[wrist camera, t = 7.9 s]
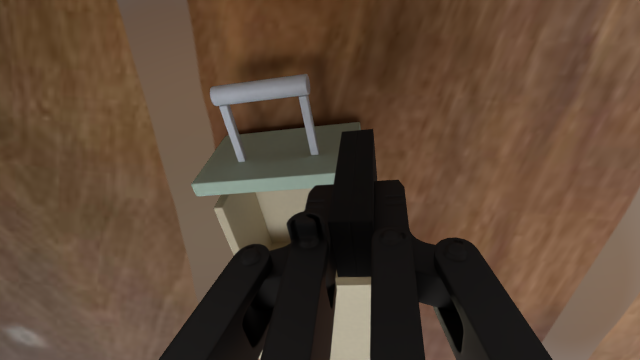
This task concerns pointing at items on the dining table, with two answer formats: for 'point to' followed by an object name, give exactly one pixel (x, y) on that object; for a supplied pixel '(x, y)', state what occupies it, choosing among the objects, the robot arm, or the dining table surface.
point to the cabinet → (351, 319)
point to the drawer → (267, 165)
